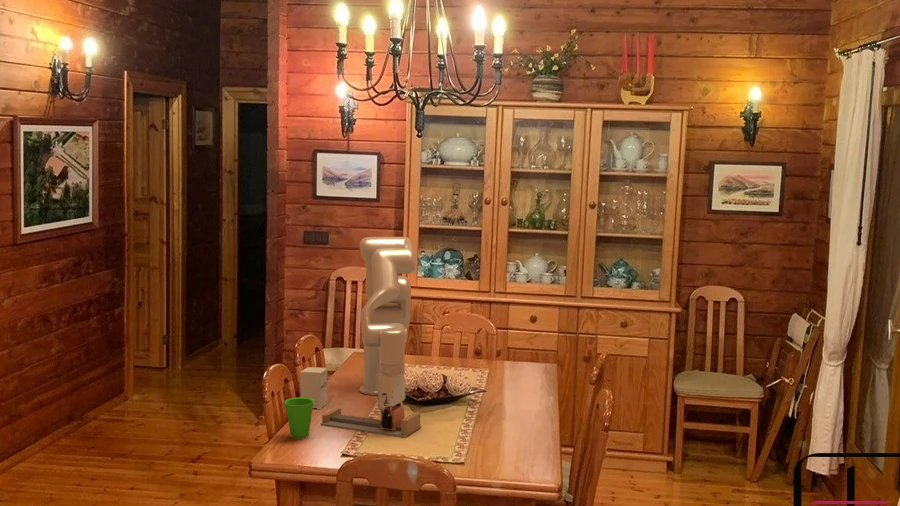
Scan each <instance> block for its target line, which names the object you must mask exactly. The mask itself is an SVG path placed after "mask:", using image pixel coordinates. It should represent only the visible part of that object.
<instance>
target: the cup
mask: <svg viewBox="0 0 900 506" xmlns="http://www.w3.org/2000/svg"><path fill="white" fill-rule="evenodd" d="M314 402H315V401H314V400H313V399H311V398H305V397H300V396H299V397H298V396H297V397H291V398H288V399H286V400H284V401H283V404H284V405H285V410H286V415H287V421H288V427H289V433H290V437H291V438H292V437H293V438H295V439H294V440H303V439H302V438H305V439H307V438H308V437H309V435H310V430H311V429H310V428H311V422H312V421H311V420H312V414H313V409H312V408H313V403H314ZM306 437H307V438H306ZM293 438H292V439H293Z"/></svg>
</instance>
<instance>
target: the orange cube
mask: <svg viewBox="0 0 900 506" xmlns="http://www.w3.org/2000/svg"><path fill="white" fill-rule="evenodd" d="M387 406H389V404H387ZM386 409H387V411H388V410H389V408H386ZM391 416H392V429H387V428H383V427H382V415H381V414H380V420H381V429H387V430H394V431H395V430H396V427H397V426H399V425H400V424H401V420H402V419H404V418H405V406H404V405H403V406H397V405H395V406H393V407H392V412H391Z"/></svg>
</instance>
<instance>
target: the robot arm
mask: <svg viewBox="0 0 900 506" xmlns="http://www.w3.org/2000/svg"><path fill="white" fill-rule="evenodd" d="M359 252H360V254H361V257H362V258H363V261H364V264H365V296H366V297H365V298H366V299H367V300H368V301H366V303H365V305H364V306H363V308H362V309H361V311H360V323H361V327H360V328H361V339H362V343H363V385H360V387H359V392H360V393H361V394H365V395H372V396H377V405H378V409H379V411H380V416H381V415H382V427H383V428H387V429H392V416H391V412H392V407H393V406H395V405H397V406H404V404H405V398H406V381H405V380H406V379H405V363H406V362H405V345H406V342H407V340H408V335H409V334H408V328H409V325H410V323H411V321H410V320H411V307H412V306H411V305H412V304H411V303H412V302H411V299H412V287H411V286H412V285H411V282H410V280H409V278H408V277H407V276H404V275H403V274H407V275H408V274H412V273H414V272H415V269H416V265H417V259H416V254H415V249H414V247H413V244H412V241H411V239H409V237H407V236H367V237H363V238H362V239H361V240H360V242H359ZM388 405H389V406H388ZM386 408H389V410H388V411H387V409H386Z"/></svg>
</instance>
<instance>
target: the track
mask: <svg viewBox="0 0 900 506" xmlns="http://www.w3.org/2000/svg"><path fill="white" fill-rule="evenodd" d="M321 419H322V420H321V423H320V426H322V425H325V426H324V427H329V426H331V427H330V428H336V427H337V429H344V430H350V431H356V430H359V431H358V432H363V431H365V432H366V433H371V434H378V435H384V436H390V437H397V438H403V437H404V439H406V438H408V437H409V436H411V435H413V434H414V433H416V432H418V431H419V430H421V429H422V425H421V412H416V411H414V412H412V413H410V414H409V415H407V416H405V417H404V419H402V420H401V424H400V425H399V426H397V427H396V430H395V431H394V430H387V429H381V419H375V418H369V417H361V416H356V415H354V416H353V415H345V414H342V408H341V407H336V408H334V409H331V410H329V411H328V412H325V413H323V414H322V417H321ZM365 432H364V433H365Z"/></svg>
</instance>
